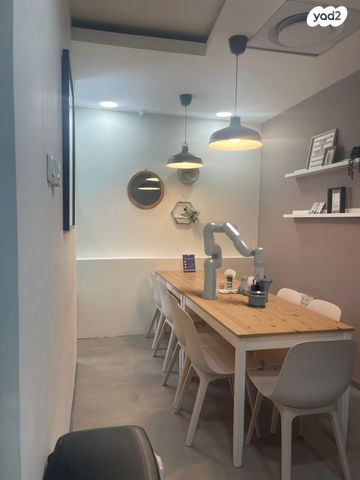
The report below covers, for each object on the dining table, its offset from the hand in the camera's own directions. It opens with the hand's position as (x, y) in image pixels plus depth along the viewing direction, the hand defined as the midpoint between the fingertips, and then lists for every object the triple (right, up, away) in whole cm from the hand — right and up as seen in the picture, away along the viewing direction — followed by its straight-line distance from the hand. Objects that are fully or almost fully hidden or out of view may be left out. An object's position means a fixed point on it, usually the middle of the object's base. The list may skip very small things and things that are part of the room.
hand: (257, 289), depth 249 cm
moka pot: (+7, -12, +18) cm, 22 cm away
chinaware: (+2, -10, +47) cm, 48 cm away
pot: (0, -12, 0) cm, 12 cm away
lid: (0, -2, 0) cm, 2 cm away
